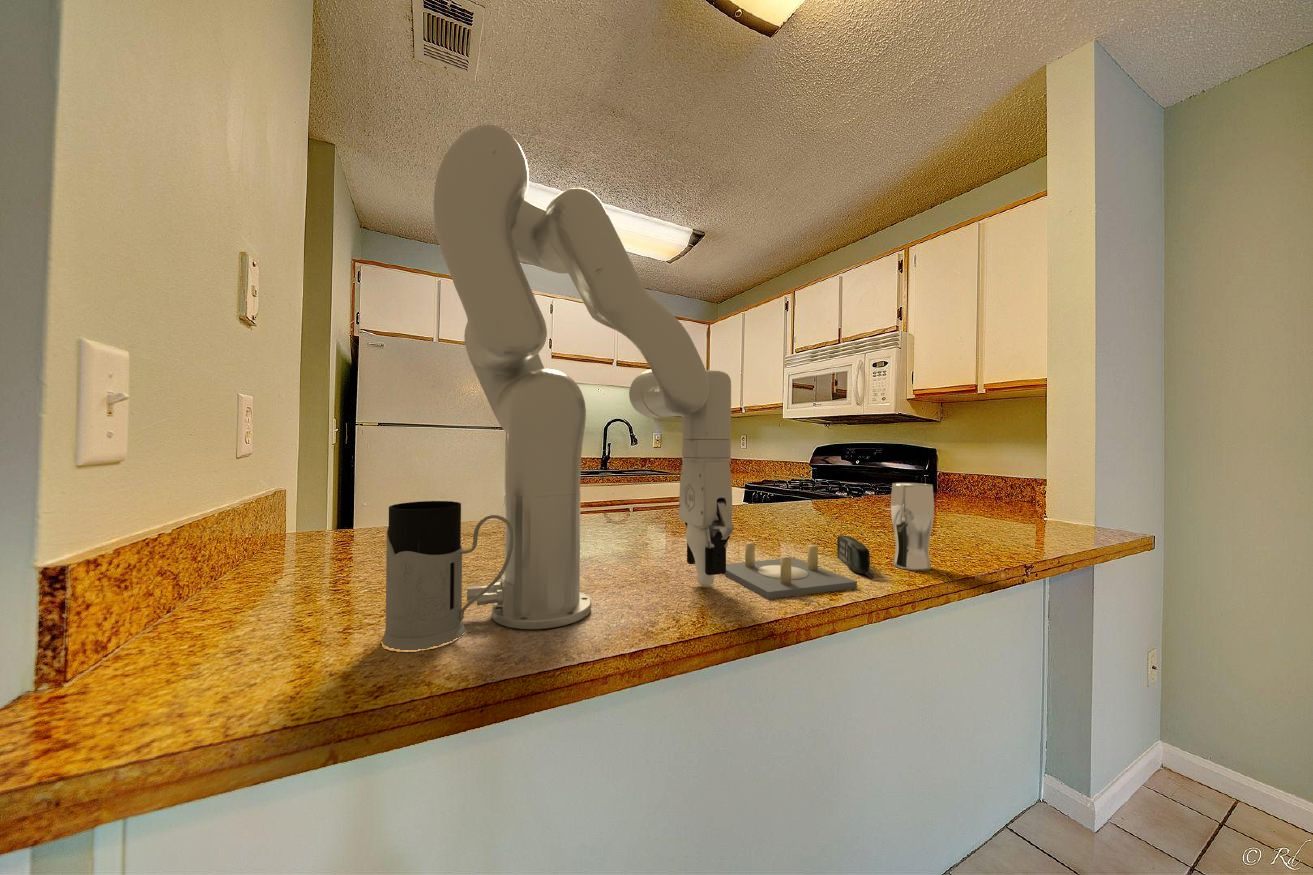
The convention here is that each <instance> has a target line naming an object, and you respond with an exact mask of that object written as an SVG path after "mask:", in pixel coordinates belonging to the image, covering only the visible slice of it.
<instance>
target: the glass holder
mask: <svg viewBox="0 0 1313 875" xmlns="http://www.w3.org/2000/svg"><path fill="white" fill-rule="evenodd" d="M491 519H497V520H500V521H502V522H503V523H506V524H507V526H508V528H509V532H510V544H509V551H508V555H507V558H506V561H505V560H504V563H503V565H502V567H501V569H500V570H499V573H498V574H497V576H496V577H494V579H493V580H492V581H491V582H490V583H489V584H488V585H486V586H487V587H486V588H485V589H484V590H483V591H481V592H480V593H479V594H477V595H476V596H475V597H474V598H473V599H471V600H470V601H469V602H467V603H465V605H464V606H463V605H462V604H463V555H464V554H465V555H466V554H470V553H472V552H473V551H474V550H476V547H477V545H478V537H479V536H478V535H479V531H480V529H481V526H482V525H483V524H484V523H485V522H486V521H488V520H491ZM461 537H462V503H461V502H458V501H452V500H450V501H449V500H425V501H422V500H421V501H410V502H401V503H396V504H395V503H394V504H392V505H390V506H388V527H387V530H386V559H385V560H386V563H385V565H386V567H385V568H386V569H385V570H386V572H385V573H386V574H385V629H384V634H383V636H382V638H381V640H382V642H383V644H384V645H385V646H388V647H389V648H394V649H400V650H418V649H427V648H430V647H433V646H439V645H441V644H443V643H447V642H450V641H453V640H454V639H456V638H459V637H461V636H462V634H463V633H464V632H465V629H466V627H465V624H464V623H463V620H464V617H465V615H464V614H465V611H466V610H467V609H468V607H470V606H471V605H472V604H473V603H475V602H477V601H476V600H477V599H478V598H479V597H481V596H482V595H483V594H484V593H485V592H486V591H487V590H489V589H490V588H491V587H492V586H493V585H494V584H495V583H496V582H499V580H500V579H501V576H502V575H504V574H505V569H506V567H507V565H508V563H509V561H510V557H511V554H512V550H513V539H514V535H513V528H512V526H511V524H510V522H509V521H508V520H506V517H504V516H502V515H497V514H491V515H488V516H487V515H486V516H484V518H482V519H481V520H479V521H478V523H477V524H476V526H475V528H474V532H473V536H472V537H473V538H472V541H473V542H472V547H471V548H470V549H463V546H462V544H461V543H462V542H461V541H462V538H461ZM465 633H466V632H465Z"/></svg>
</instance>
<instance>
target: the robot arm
mask: <svg viewBox="0 0 1313 875" xmlns="http://www.w3.org/2000/svg"><path fill="white" fill-rule="evenodd" d="M527 161H528V160H527V159H526V156H525V153H524V150H522V147H521V146H520V144H519V143H518V141H517V139H515V137H514V136H513V135H511V133H510V132H508V131H507V130H506V129H504V128H503V127H500V126H498V125H494V124H480V125H477V126H475V127H472V128H470V129H468V130H467V131H465V132H464V133H462V134H461V135H460V136H459V137H458V138H456V140H455V141H454V142H453V143H452V144H451V146H450V147H449V148H448V150H447V151H446V153H445V155H444V156H443V159H442V161H441V163H440V166H439V168H438V172H437V174H436V180H435V184H434V192H433V219H434V227H435V228H434V229H435V233H436V237H437V241H438V245H439V248H440V251H441V254H442V256H443V259H444V262H445V265H446V268H447V270H448V272H449V274H450V278H451V280H452V283H453V287H455V290H456V293H457V294H458V297H459V299H460V301H461V304H462V307H463V309H464V312H465V315H466V318H467V322H466V324H465V329H464V336H463V337H464V338H463V339H464V345H465V350H466V353H467V355H468V356H467V357H468V358H469V361H470V364H471V366H472V368H473V370H474V373H475V375H476V377H477V379H478V382H479V384H480V387H481V388H482V390H483V393H484V395H485V397H486V399H487V401H488V404H489V406H490V408H491V410H492V413H493V415H494V416H495V418H496V420H497V422H498V424H499V425H500V427H501V428H502V430H503V431H504V432H505V433H506V434H507V436H508V437H507V445H506V446H507V448H506V460H505V486H504V487H505V519H506V520H508V521H509V522H510V524H511V526H512V528H513V535H514V539H513V550H512V554H511V557H510V561H509V563H508V565H507V567H506V569H505V571H504V574H503V575H502V576H501V578H500V579H501V580H500V581H499V580H498V581H497V582H496V583H495V584H494V585H493V586H492V587H491V588H490V589H489V590H487V591H486V592H485V593H484V594H483V595H482V596H481V597H479V598H478V599H477V600H476V601H475V602H476V606H482V605H489V604H493V605H492V607H491V618H492V619H493V621H494V622H496V623H497V624H499V625H501V626H504V627H506V628H511V629H517V630H518V629H520V630H544V629H546V630H547V629H552V628H553V629H554V628H558V627H563V626H568V625H571V624H573V623H576V622H578V621H581V620H583V619H584V618H586V617H587V616H588V615H589V614H590V613H591V611H592V599H591V598H590V597H589V595H586V594H585V593H583V592H580V588H581V587H580V586H581V584H580V583H581V581H580V580H581V579H580V578H581V577H580V575H581V573H580V572H581V562H580V561H581V469H582V468H581V467H582V450H583V442H584V438H585V437H584V435H585V429H586V422H587V421H586V420H587V409H586V401H585V398H584V395H583V392H582V390H581V388H580V387H579V385H578V384H577V383H576V381H575V380H574V379H573V378H572V377H570V375H567V374H566V373H564V372H562V371H560V370H557V369H550V368H545V367H544V364H543V362H542V359H541V358H540V355H539V353H540V352H541V350H543V348H544V346H545V344H546V340H547V336H548V329H547V324H546V320H545V318H544V316H543V313H542V311H541V308H540V306H539V304H538V302H537V300H536V297H535V295H534V292H533V291H532V287H531V286H530V283H529V281H528V279H527V277H526V276H527V275H526V274H525V272H524V269H523V267H522V265H521V262H520V260H523V261H525V262H527V263H530V264H532V265H534V266H536V267H540V269H541V268H542V269H544V270H546V271H549V272H553V273H557V274H568V275H569V277H570V279H571V281H572V283H573V284H574V287H575V288H576V290H577V292H578V294H579V295H580V298H581V300H582V302H583V303H584V306H585V307H586V310H587V311H588V314H589V315H590V316H591V318H592V319H593V320H595V321H596V322H597V323H599V324H601V325H604V326H605V327H608V328H610V329H612V330H615V331H616V332H618V333H621V335H623V336H624V337H626V338H627V339H628V340H629V341H630V342H631V343H632V344H633V345H634V346H635V347H636V348H637V349H638V351H639V352H640V353H641V355H642V357H644V359H645V361H646V363H647V364H648V366H649V368H650V369H647V370H645V371H643V372H641V373H640V374H639V375H637V376H636V377H635V378H634V379H633V380H632V382H631V385H630V386H629V391H628V397H629V402H630V404H631V405H632V408H633V409H634V410H635V411H636V412H638V413H639V414H640V415H641V416H644V417H647V418H651V419H664V418H670V417H681V419H682V420H681V421H682V426H681V427H682V428H681V429H682V430H681V431H682V435H681V436H682V439H681V441H682V442H681V458H682V459H681V461H682V465H681V472H680V480H679V495H678V496H679V498H678V517H679V519H680V520H681V521H682V522H684V525H685V527H686V530H685V533H686V532H687V528H688V526H689V524H691V525H693V526H695V527H698V528H701V529H704V528H705V530H706V537H707V544H708V547H705V573H706V574H707V575H714V576H715V575H716V576H717V575H724V573H726V564H727V548H728V546H729V544H728V543H729V542H728V541H729V539H730V536H731V535H732V533H733V532H734V529H735V528H734V526H735V525H734V523H733V521H732V519H733V486H732V475H731V474H732V473H731V467H730V462H731V461H732V456H731V455H732V440H731V439H732V381H731V378H730V376H729V374H728V373H727V372H724V371H722V370H721V371H720V370H709V369H708V370H706V368H705V365H704V362H703V360H702V358H701V356H700V354H699V352H698V350H697V348H696V346H695V343H694V341H693V339H692V337H691V336H690V334H689V332H688V331H687V330H686V328H685V327H684V325H683V324H682V323H681V321H680V320H679V319H678V318H676V316H675V315H674V314H673V313H671V311H669V309H668V308H666V307H665V306H664V305H663V303H661V302H660V301H659V300H658V299H656V297H654V296H653V295H652V294H650V293H649V291H647V289H646V288H645V287H644V284H643V283H642V281H641V279H640V276H639V275H638V273H637V271H636V269H635V267H634V264H633V262H632V261H631V258H630V257H629V254H628V252H627V251H626V249H625V247H624V245H623V243H622V241H621V238H620V236H619V235H618V232H617V230H616V228H615V227H614V224H613V222H612V220H611V218H610V216H609V214H608V212H607V210H606V208H605V207H604V205H603V203H602V201H601V200H600V199H599V198H598V197H597V196H596V194H594V192H592V191H590V190H588V189H586V188H583V187H572V188H568V189H566V190H564V191H562V192H560V193H558V194H557V195H556V196H555V197H554V198H553V199H552V200H551V202H549V204H548V205H547V207H546V209H544V208H542V207H539V206H537V205H536V204H533V203H532V202H529V201H527V200H526V199H525V198H526V196H527V193H528V189H529V181H530V180H529V178H530V175H529V174H530V173H529V167H528V162H527ZM714 522H719V525H717V526H711V525H712V523H714ZM504 523H505V522H504ZM504 527H505V532H504V535H505V536H504V537H505V538H504V539H505V541H504V542H505V543H504V547H505V548H504V562H505V561H506V558H507V555H508V551H509V544H510V532H509V528H508V526H507V524H506V523H505V525H504ZM712 531H719V532H716V534H715V536H714V537H713V532H712ZM686 563H687V564H688V565H695V559H694V556H693V553H692V551H691V549H690V547H689V545H688V543H687V542H686ZM487 586H488V585H481V584H480V585H469V586H467V588H466V602H467V603H468V602H469V601H470V600H471V599H473V598H474V597H475V596H476V595H477V594H479V593H480V592H481V591H483V590H484V589H485V588H486V587H487Z"/></svg>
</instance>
